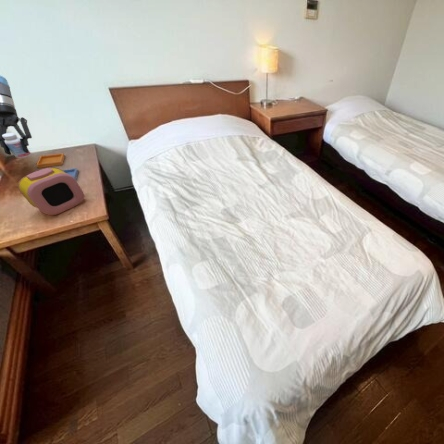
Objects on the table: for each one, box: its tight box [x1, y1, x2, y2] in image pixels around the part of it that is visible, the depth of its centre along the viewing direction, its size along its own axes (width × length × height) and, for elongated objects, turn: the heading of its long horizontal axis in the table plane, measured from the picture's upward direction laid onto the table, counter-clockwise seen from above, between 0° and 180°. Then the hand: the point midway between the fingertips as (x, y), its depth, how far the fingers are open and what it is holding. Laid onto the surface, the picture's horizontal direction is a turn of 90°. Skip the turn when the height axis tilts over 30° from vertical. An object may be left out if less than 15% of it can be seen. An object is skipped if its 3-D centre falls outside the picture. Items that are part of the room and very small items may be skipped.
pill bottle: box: [2, 132, 32, 159], centre depth 123 cm, size 6×6×11 cm
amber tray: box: [35, 152, 66, 169], centre depth 150 cm, size 11×11×2 cm
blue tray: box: [62, 167, 79, 181], centre depth 139 cm, size 11×11×2 cm
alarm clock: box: [17, 167, 85, 216], centre depth 117 cm, size 18×11×19 cm, turn 151°
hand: (17, 152), depth 122 cm, fingers closed on pill bottle, 6 cm apart
